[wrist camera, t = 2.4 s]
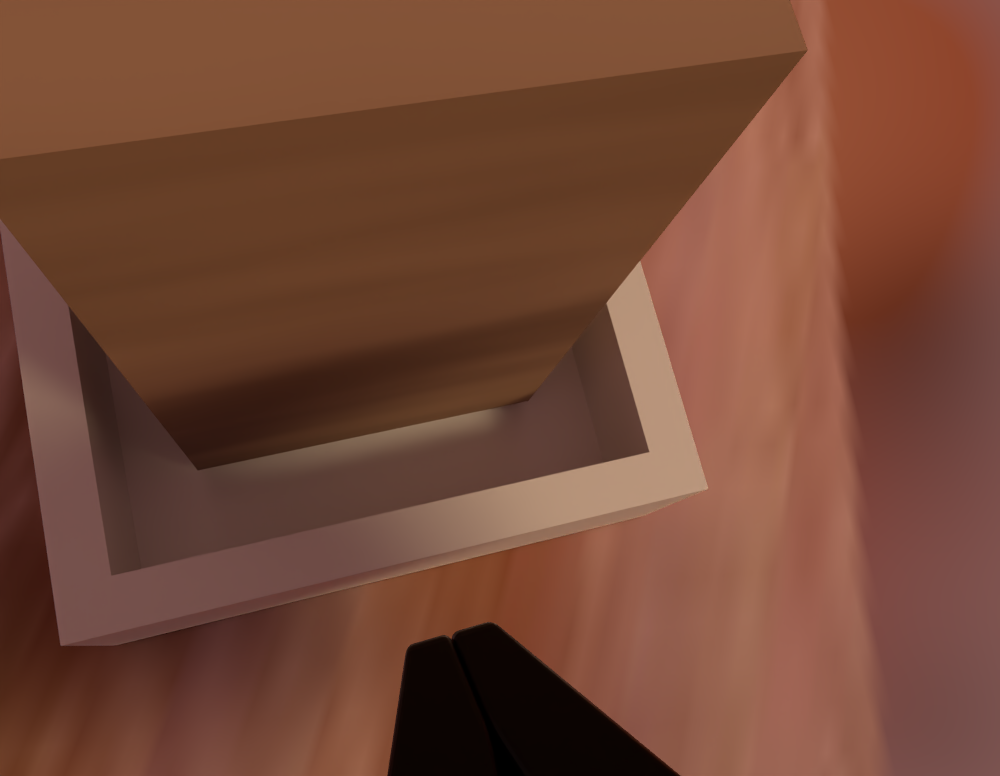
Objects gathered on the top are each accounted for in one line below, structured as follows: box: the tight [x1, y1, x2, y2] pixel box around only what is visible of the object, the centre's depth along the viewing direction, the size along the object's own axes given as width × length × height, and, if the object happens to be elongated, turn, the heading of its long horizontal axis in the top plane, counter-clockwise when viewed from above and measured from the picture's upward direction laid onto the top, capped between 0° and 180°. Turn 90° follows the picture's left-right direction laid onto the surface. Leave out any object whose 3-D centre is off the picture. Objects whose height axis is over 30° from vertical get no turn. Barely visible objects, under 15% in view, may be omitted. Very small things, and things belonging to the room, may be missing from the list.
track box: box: [0, 219, 708, 646], centre depth 18 cm, size 21×10×4 cm, turn 14°
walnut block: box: [0, 0, 807, 470], centre depth 12 cm, size 5×6×11 cm
